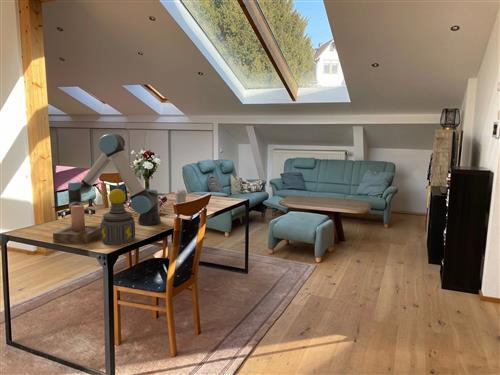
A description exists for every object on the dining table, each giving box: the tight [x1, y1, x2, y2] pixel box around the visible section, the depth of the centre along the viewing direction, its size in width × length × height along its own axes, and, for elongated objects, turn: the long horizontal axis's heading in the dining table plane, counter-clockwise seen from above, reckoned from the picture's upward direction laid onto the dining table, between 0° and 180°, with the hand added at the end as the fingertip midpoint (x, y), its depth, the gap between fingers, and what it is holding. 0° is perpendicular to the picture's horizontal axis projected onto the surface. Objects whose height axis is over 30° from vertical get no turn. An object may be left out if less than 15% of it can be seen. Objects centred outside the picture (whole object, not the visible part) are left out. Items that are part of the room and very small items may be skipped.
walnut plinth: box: [52, 224, 101, 244], centre depth 219 cm, size 20×18×5 cm
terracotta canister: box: [70, 204, 86, 231], centre depth 218 cm, size 7×7×14 cm
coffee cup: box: [174, 189, 187, 203], centre depth 306 cm, size 10×10×15 cm
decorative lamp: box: [100, 188, 136, 245], centre depth 215 cm, size 19×19×30 cm
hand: (77, 215), depth 217 cm, fingers open, 13 cm apart
